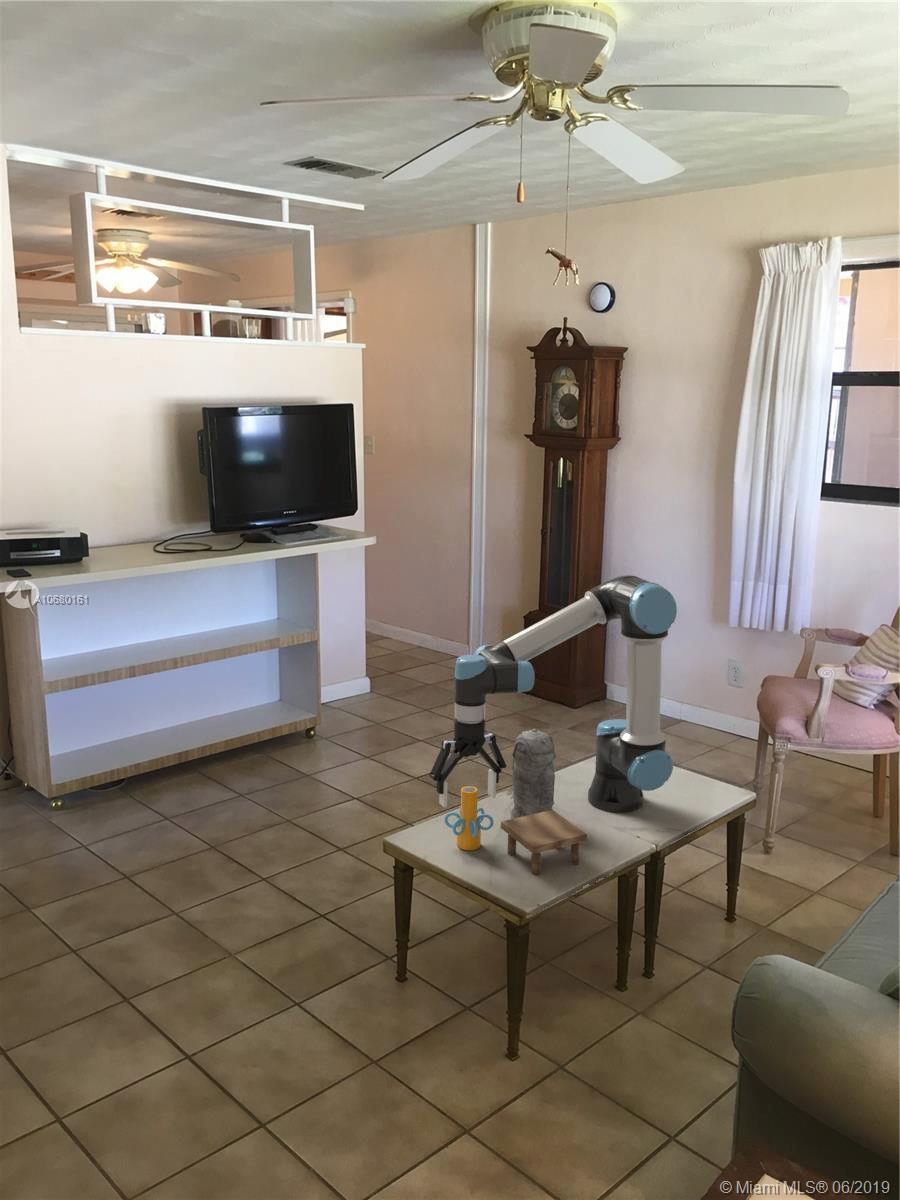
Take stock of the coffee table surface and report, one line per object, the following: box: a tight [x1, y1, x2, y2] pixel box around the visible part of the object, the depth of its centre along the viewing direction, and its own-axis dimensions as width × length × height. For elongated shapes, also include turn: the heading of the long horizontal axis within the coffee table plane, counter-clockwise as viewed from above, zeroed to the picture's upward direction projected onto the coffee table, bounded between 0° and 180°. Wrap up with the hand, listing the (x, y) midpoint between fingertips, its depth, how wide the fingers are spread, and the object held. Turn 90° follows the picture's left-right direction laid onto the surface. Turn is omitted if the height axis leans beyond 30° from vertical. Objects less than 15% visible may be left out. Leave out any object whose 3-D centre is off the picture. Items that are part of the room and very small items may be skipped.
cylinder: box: [444, 785, 494, 851], centre depth 238 cm, size 12×10×15 cm
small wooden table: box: [500, 809, 588, 876], centre depth 233 cm, size 15×15×8 cm
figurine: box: [509, 728, 557, 819], centre depth 252 cm, size 10×14×25 cm
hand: (467, 800), depth 237 cm, fingers open, 13 cm apart
